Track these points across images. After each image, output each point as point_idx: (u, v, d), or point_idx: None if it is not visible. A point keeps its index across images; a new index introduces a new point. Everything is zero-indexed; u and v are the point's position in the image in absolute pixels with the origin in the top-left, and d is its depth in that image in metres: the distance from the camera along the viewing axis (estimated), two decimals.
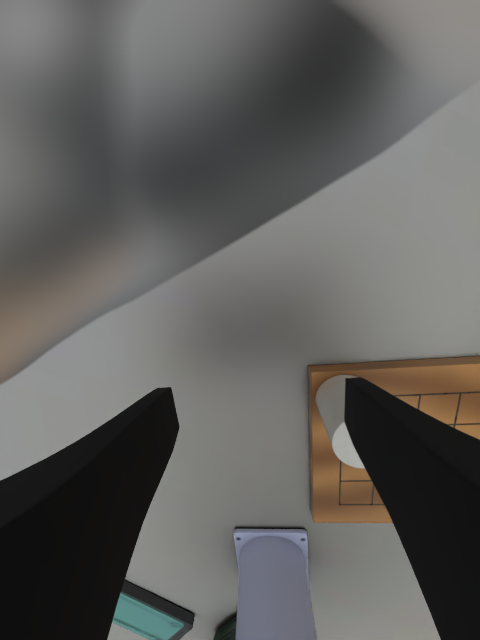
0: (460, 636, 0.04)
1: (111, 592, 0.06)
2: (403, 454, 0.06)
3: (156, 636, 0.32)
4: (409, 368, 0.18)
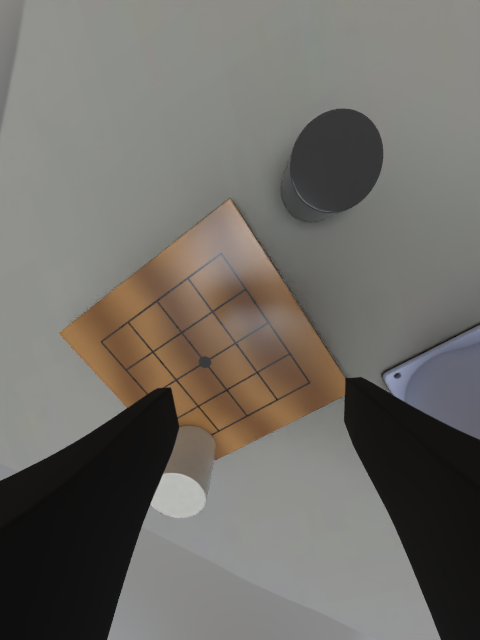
0: (460, 637, 0.04)
1: (111, 592, 0.06)
2: (403, 454, 0.06)
3: None
4: None
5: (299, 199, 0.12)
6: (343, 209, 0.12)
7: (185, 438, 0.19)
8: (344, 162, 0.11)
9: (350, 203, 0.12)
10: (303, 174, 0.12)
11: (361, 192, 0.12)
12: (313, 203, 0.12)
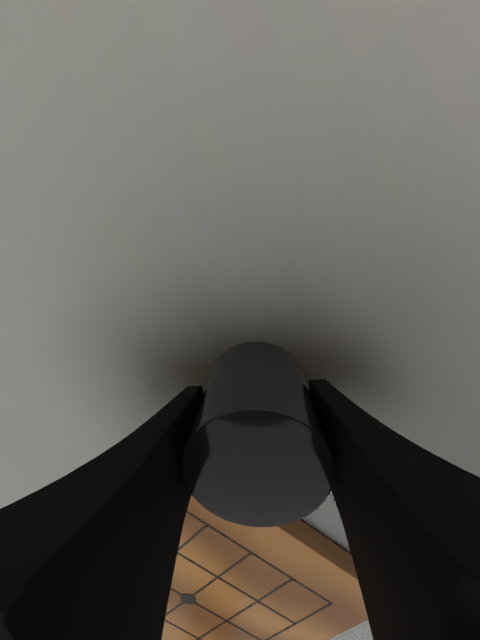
0: (382, 632, 0.05)
1: (162, 594, 0.06)
2: (345, 455, 0.06)
3: None
4: None
5: None
6: (293, 521, 0.07)
7: None
8: (269, 471, 0.07)
9: (301, 514, 0.07)
10: (211, 493, 0.07)
11: (313, 500, 0.07)
12: (241, 521, 0.07)
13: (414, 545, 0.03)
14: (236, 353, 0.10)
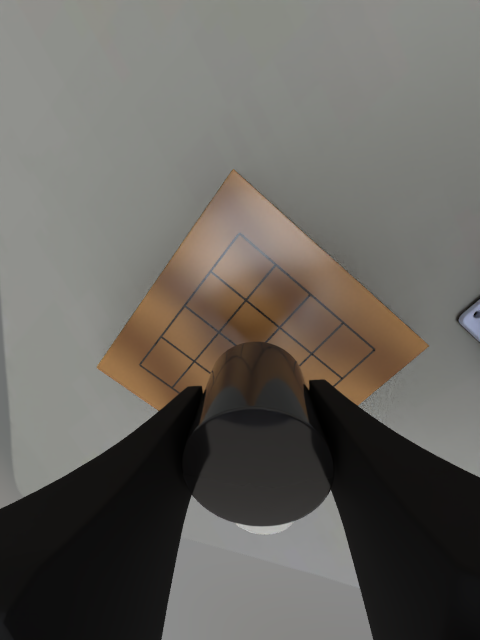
0: (382, 633, 0.05)
1: (162, 594, 0.06)
2: (345, 455, 0.06)
3: None
4: None
5: None
6: (293, 520, 0.07)
7: None
8: (269, 470, 0.07)
9: (301, 513, 0.07)
10: (210, 492, 0.07)
11: (313, 499, 0.07)
12: (241, 520, 0.07)
13: (414, 545, 0.03)
14: (236, 352, 0.10)
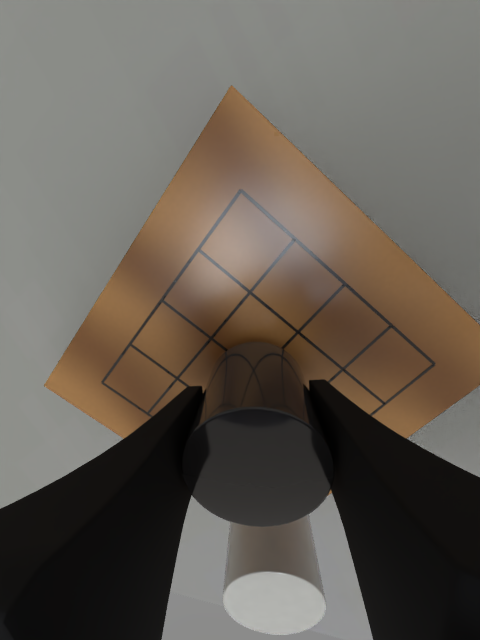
0: (382, 633, 0.05)
1: (162, 594, 0.06)
2: (345, 455, 0.06)
3: None
4: None
5: None
6: (292, 520, 0.07)
7: None
8: (269, 470, 0.07)
9: (301, 513, 0.07)
10: (210, 492, 0.07)
11: (313, 500, 0.07)
12: (241, 520, 0.07)
13: (414, 545, 0.03)
14: (236, 353, 0.10)
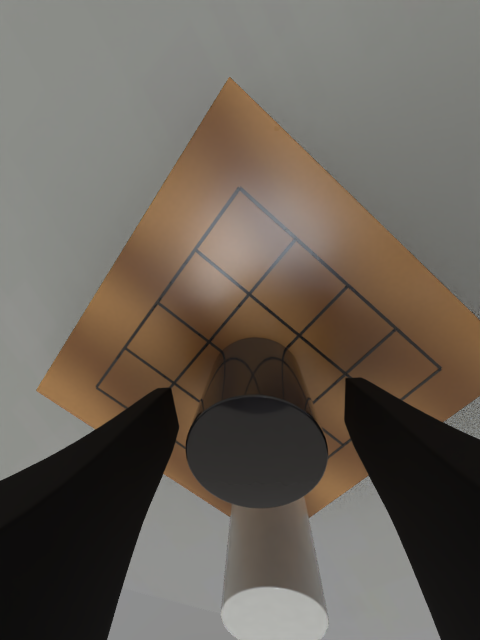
0: (460, 635, 0.04)
1: (111, 592, 0.06)
2: (403, 454, 0.06)
3: None
4: (178, 482, 0.14)
5: None
6: (289, 502, 0.08)
7: None
8: (267, 454, 0.07)
9: (297, 495, 0.08)
10: (213, 476, 0.08)
11: (308, 482, 0.07)
12: (242, 502, 0.08)
13: None
14: (236, 347, 0.10)
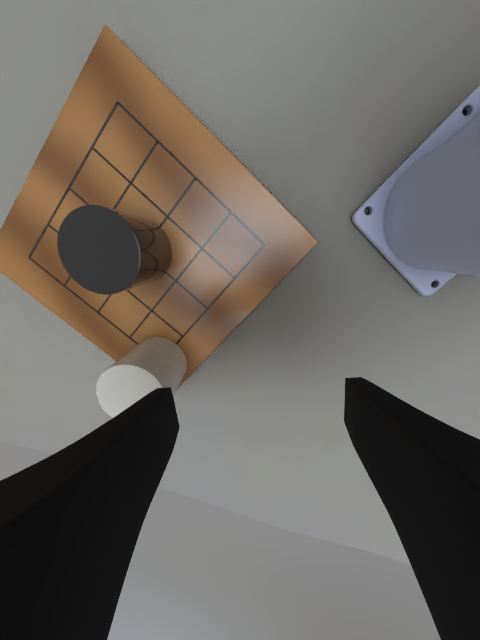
0: (460, 636, 0.04)
1: (111, 592, 0.06)
2: (403, 454, 0.06)
3: None
4: (93, 342, 0.19)
5: None
6: (124, 288, 0.12)
7: (141, 344, 0.17)
8: (105, 249, 0.12)
9: (127, 282, 0.12)
10: (75, 267, 0.12)
11: (132, 271, 0.12)
12: (95, 289, 0.13)
13: None
14: None
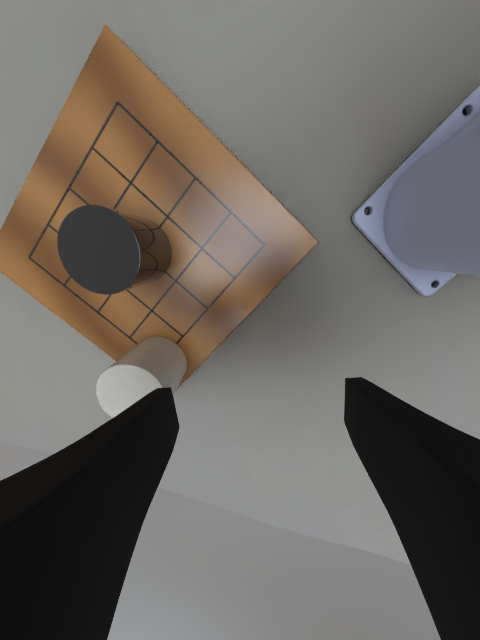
0: (460, 636, 0.04)
1: (111, 592, 0.06)
2: (403, 454, 0.06)
3: None
4: (93, 342, 0.19)
5: None
6: (124, 288, 0.12)
7: (141, 344, 0.17)
8: (105, 249, 0.12)
9: (127, 282, 0.12)
10: (75, 267, 0.12)
11: (132, 271, 0.12)
12: (95, 289, 0.13)
13: None
14: None
